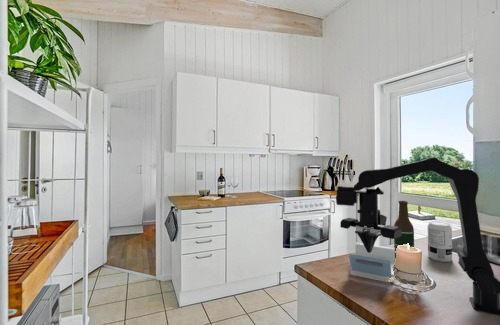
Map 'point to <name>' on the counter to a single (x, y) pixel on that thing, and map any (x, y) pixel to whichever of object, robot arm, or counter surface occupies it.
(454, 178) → the robot arm
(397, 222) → the beer bottle
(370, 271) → the panel
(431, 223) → the supplement can
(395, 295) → the counter surface
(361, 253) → the white stepped block
